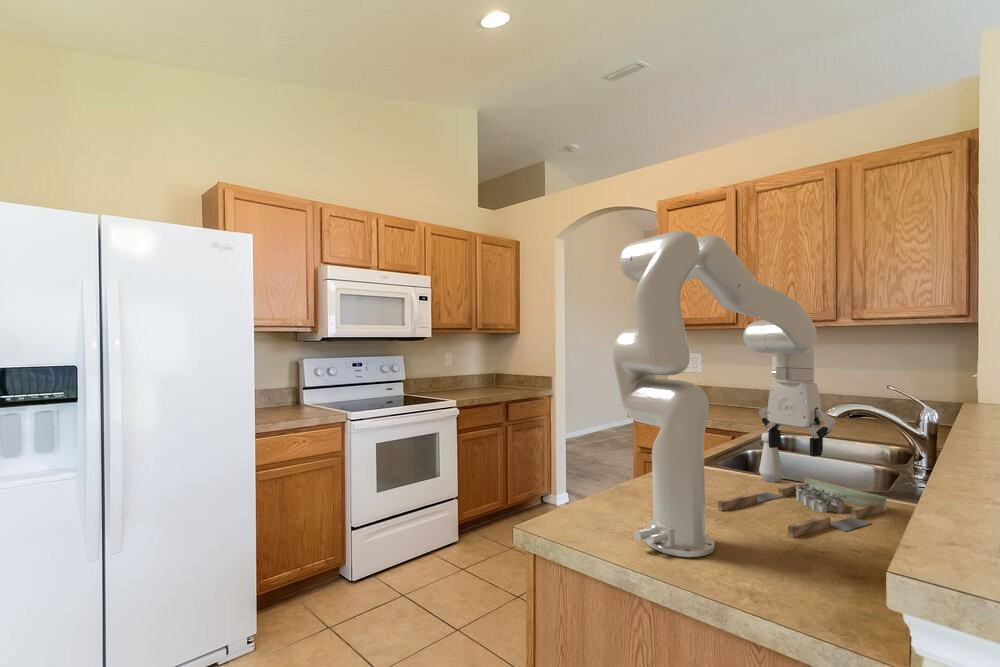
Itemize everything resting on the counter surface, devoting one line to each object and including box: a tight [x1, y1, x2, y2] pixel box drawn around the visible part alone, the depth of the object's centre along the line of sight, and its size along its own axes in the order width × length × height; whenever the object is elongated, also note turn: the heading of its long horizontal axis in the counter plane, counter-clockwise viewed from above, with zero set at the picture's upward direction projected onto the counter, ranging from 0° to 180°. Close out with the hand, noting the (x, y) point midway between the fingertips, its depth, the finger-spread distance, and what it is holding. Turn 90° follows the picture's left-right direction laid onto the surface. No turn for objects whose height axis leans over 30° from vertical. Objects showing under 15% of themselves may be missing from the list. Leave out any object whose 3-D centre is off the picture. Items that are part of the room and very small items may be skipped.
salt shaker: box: [758, 431, 784, 483], centre depth 138 cm, size 6×6×13 cm
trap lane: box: [717, 477, 888, 539], centre depth 114 cm, size 32×24×3 cm
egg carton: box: [793, 483, 847, 514], centre depth 117 cm, size 11×8×4 cm
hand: (794, 451), depth 113 cm, fingers open, 9 cm apart
